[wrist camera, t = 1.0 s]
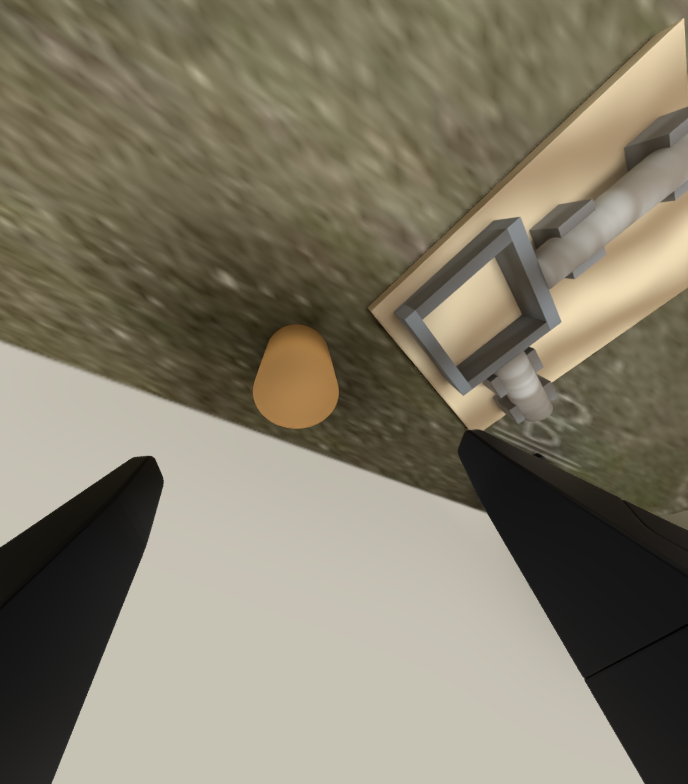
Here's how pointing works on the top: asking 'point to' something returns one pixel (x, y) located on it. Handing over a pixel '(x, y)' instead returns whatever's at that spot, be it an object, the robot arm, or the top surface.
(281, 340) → the tan rounded piece
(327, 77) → the top surface
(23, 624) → the robot arm
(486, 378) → the shaft board
